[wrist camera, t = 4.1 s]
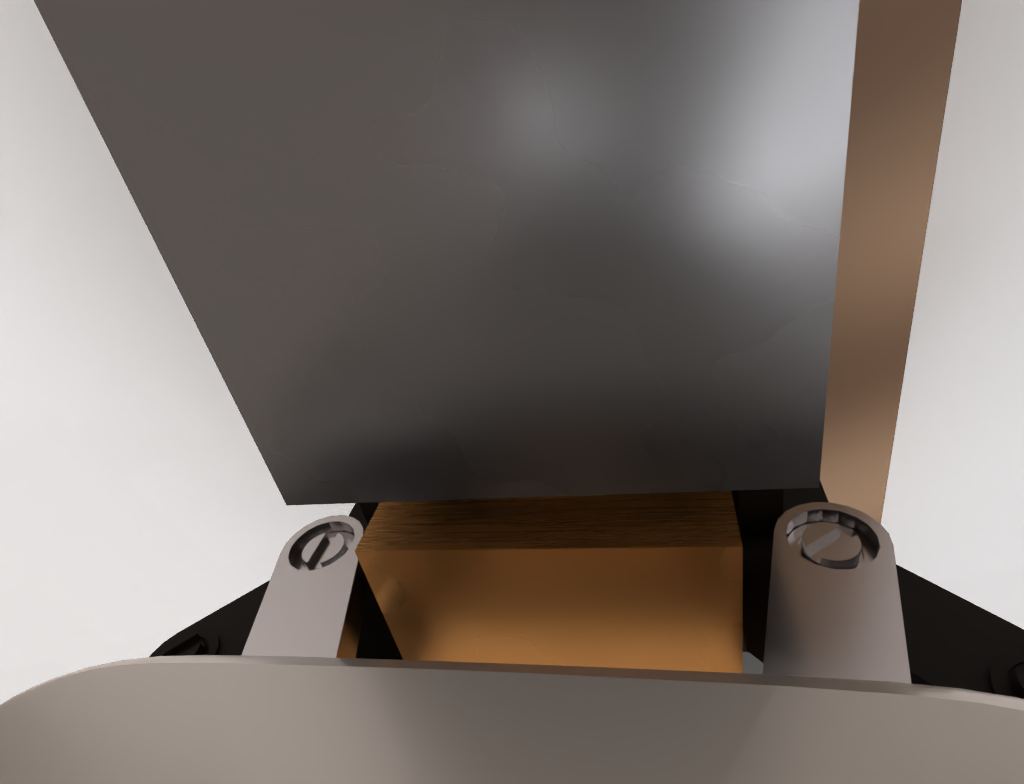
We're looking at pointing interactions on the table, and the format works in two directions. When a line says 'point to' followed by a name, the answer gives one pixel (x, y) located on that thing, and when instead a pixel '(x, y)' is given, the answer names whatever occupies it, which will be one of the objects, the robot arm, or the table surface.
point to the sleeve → (493, 230)
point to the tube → (562, 580)
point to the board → (882, 235)
